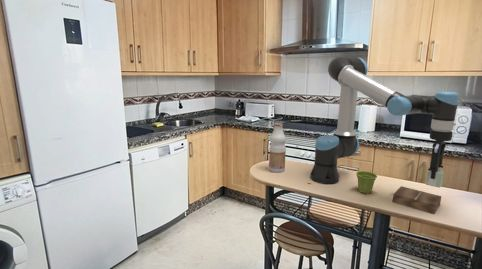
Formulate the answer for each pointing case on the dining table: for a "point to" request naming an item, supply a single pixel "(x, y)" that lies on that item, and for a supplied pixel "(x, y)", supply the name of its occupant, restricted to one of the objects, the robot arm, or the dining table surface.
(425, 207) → the walnut board
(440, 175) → the sage block
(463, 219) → the dining table surface
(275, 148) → the fruit juice
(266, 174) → the dining table surface
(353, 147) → the robot arm
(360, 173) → the plant pot
